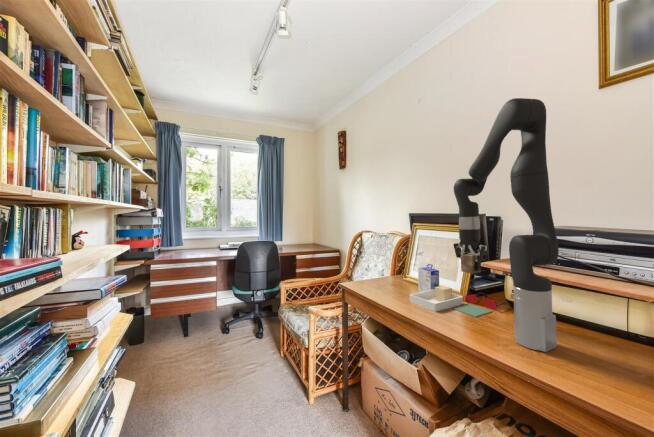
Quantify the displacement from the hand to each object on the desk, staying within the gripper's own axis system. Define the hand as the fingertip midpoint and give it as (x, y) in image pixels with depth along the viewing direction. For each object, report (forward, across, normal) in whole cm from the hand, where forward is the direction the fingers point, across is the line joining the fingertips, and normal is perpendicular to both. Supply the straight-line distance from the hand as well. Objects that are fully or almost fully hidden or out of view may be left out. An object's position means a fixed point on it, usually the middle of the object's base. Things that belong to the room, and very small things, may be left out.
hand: (470, 269), depth 107 cm
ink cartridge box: (+17, +26, -4) cm, 32 cm away
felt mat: (+17, 0, 0) cm, 17 cm away
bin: (+17, +14, +5) cm, 23 cm away
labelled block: (+1, 0, 0) cm, 1 cm away
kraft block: (+17, +14, 0) cm, 22 cm away
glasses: (+18, +2, -15) cm, 23 cm away
